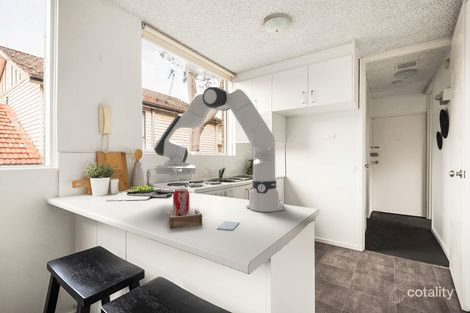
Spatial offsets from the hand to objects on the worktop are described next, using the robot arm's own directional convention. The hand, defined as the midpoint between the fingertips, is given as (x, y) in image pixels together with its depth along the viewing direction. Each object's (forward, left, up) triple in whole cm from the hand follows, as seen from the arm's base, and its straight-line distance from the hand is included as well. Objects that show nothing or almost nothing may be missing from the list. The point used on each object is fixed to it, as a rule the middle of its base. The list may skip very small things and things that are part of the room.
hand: (178, 172), depth 110 cm
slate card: (+15, +32, -20) cm, 41 cm away
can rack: (+17, +14, -19) cm, 29 cm away
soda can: (+8, +7, -19) cm, 22 cm away
